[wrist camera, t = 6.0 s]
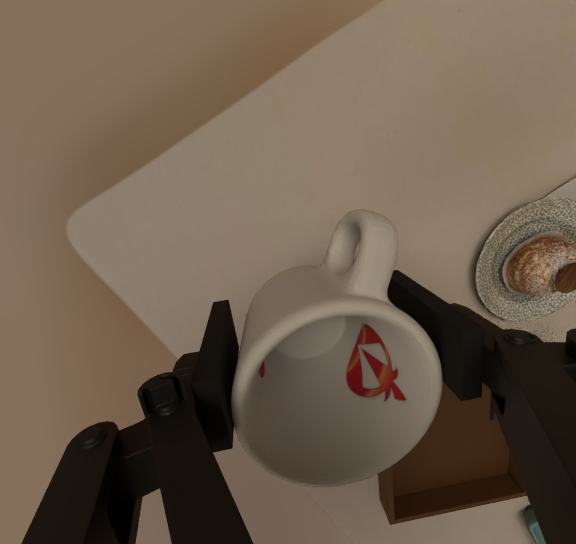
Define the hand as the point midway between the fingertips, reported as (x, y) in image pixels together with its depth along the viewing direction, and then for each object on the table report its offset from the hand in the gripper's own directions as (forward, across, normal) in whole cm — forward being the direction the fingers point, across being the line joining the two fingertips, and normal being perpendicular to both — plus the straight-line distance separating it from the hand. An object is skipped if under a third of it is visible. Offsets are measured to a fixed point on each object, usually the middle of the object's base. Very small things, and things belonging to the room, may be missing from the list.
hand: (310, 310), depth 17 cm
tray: (+12, +15, -23) cm, 30 cm away
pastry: (+12, +23, -4) cm, 26 cm away
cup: (+3, 0, 0) cm, 3 cm away
